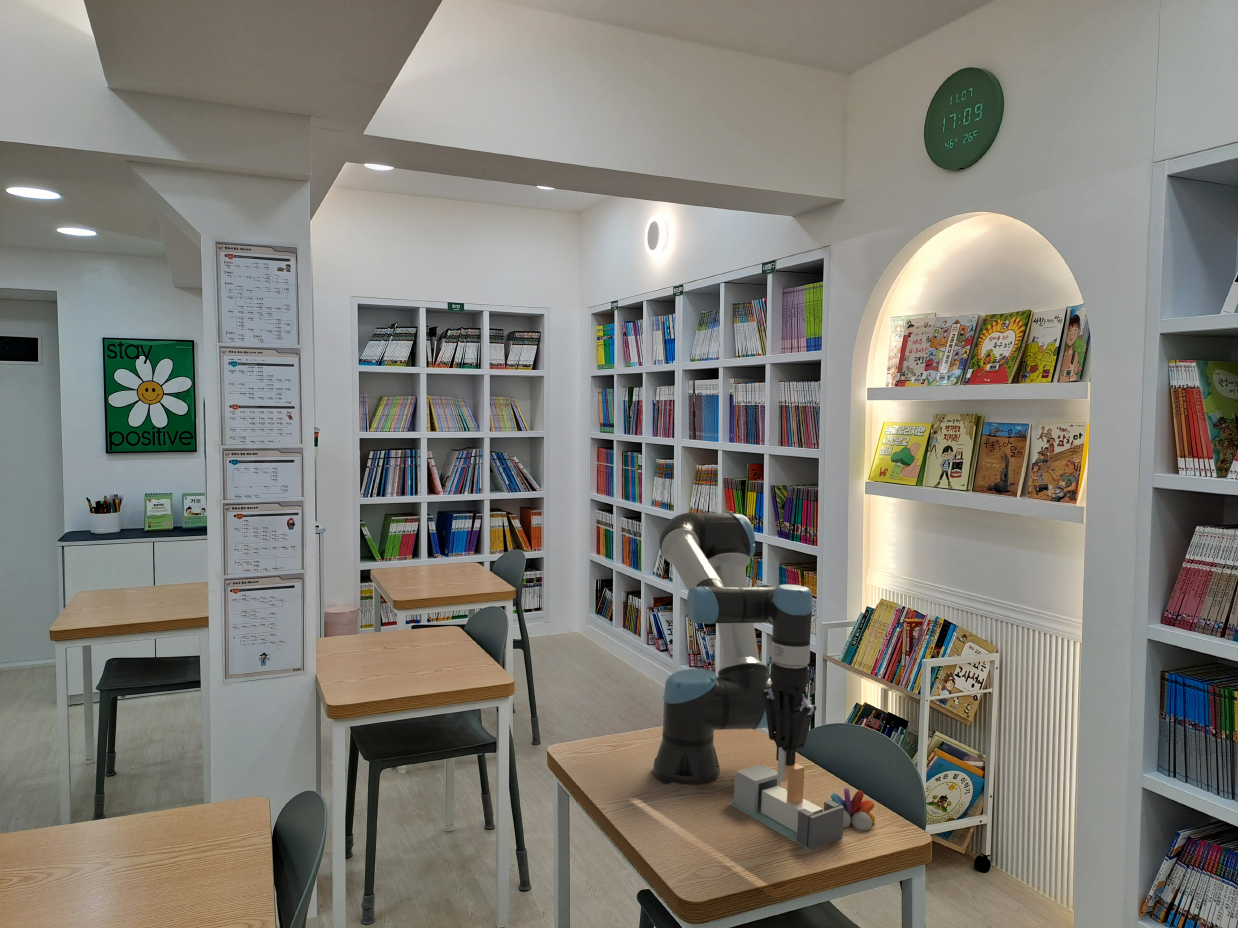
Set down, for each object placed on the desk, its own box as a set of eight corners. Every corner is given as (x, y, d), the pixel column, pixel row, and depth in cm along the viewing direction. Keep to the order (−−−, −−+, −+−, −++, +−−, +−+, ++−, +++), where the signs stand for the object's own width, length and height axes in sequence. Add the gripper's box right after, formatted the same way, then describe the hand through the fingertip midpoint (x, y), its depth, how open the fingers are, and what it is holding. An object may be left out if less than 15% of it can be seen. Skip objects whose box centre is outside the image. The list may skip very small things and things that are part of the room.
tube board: (728, 808, 173) (730, 771, 173) (763, 797, 179) (764, 761, 179) (808, 854, 155) (810, 814, 155) (843, 841, 161) (846, 801, 161)
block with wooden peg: (761, 812, 169) (763, 756, 169) (776, 807, 172) (779, 752, 171) (805, 837, 159) (808, 778, 159) (821, 831, 162) (824, 773, 162)
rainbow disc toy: (876, 837, 163) (878, 801, 163) (826, 830, 165) (827, 795, 165) (872, 817, 172) (874, 783, 171) (824, 811, 174) (826, 777, 173)
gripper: (753, 657, 169) (748, 771, 170) (801, 674, 158) (795, 795, 159) (779, 653, 173) (774, 764, 174) (827, 668, 163) (822, 787, 164)
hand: (784, 778), depth 167 cm, fingers closed
